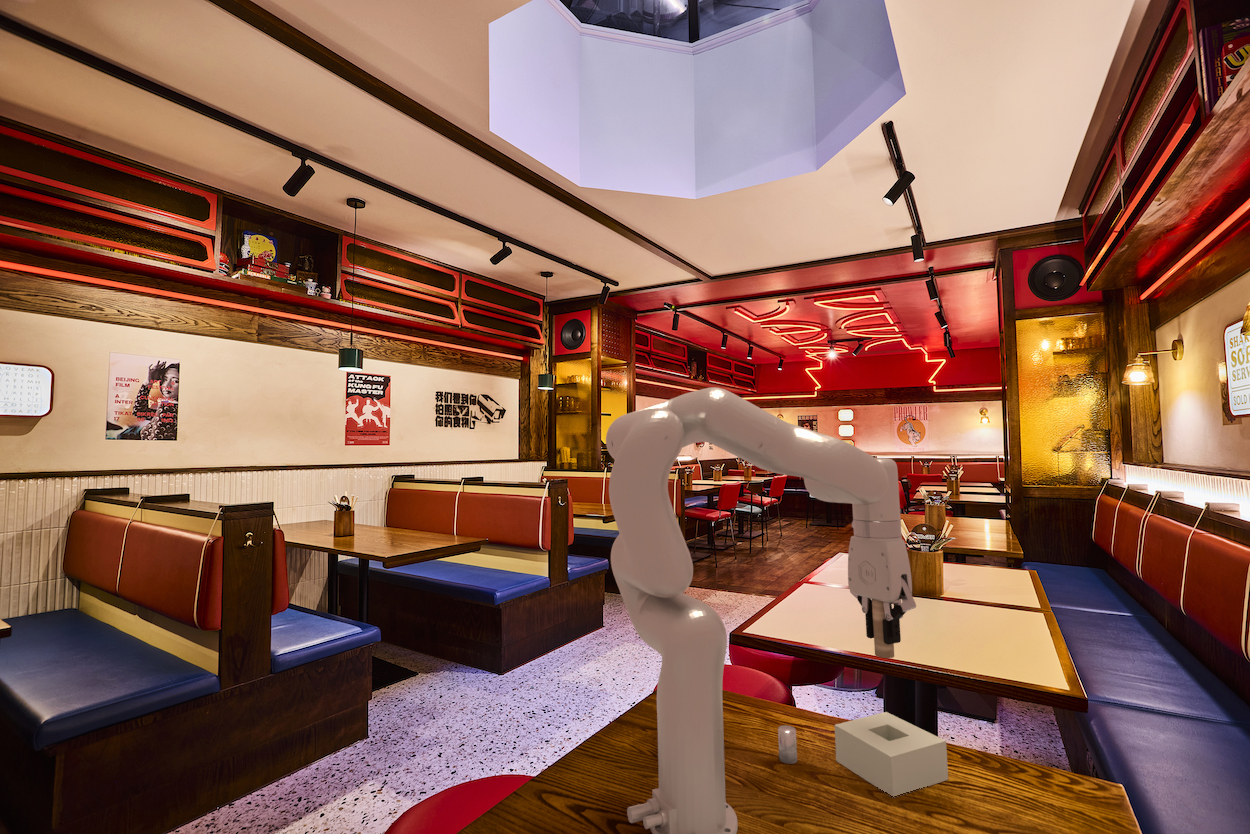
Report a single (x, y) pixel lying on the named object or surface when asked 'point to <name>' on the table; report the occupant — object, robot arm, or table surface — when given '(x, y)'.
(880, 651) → the birch pin
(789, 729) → the steel stub
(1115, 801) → the table surface
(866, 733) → the hole block
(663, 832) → the robot arm
